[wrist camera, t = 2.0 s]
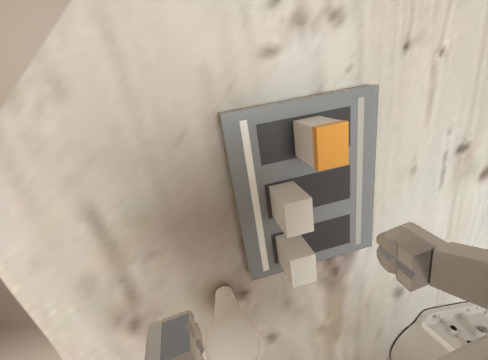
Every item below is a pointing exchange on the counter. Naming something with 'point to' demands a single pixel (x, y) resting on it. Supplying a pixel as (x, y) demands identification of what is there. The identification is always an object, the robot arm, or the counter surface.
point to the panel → (301, 183)
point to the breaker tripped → (322, 142)
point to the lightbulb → (231, 330)
